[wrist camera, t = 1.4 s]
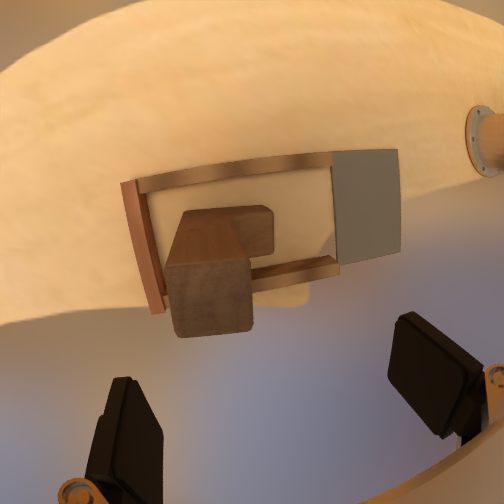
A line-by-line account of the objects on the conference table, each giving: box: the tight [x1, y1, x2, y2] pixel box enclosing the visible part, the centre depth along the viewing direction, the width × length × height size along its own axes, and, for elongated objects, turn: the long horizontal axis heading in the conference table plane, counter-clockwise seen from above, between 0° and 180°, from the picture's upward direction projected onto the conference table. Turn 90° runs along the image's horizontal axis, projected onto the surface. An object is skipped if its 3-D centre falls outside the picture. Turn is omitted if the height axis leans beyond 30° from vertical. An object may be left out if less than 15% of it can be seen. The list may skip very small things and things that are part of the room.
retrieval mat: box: [330, 149, 401, 266], centre depth 34 cm, size 10×14×1 cm
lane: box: [120, 152, 340, 314], centre depth 31 cm, size 22×14×4 cm, turn 98°
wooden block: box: [164, 205, 274, 338], centre depth 24 cm, size 9×4×18 cm, turn 93°
